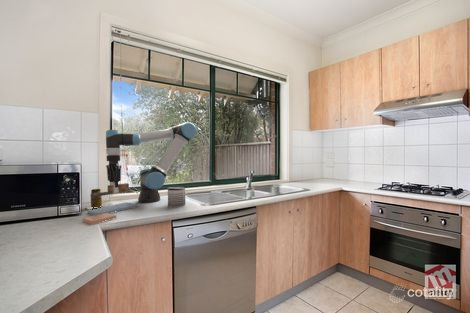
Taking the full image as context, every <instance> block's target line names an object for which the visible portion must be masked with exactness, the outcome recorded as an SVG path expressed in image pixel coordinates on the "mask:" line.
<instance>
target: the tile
mask: <svg viewBox="0 0 470 313" xmlns="http://www.w3.org/2000/svg"><path fill="white" fill-rule="evenodd" d="M112 218H116V219H117V214H113V213H110V214H109V213H104V214H99V215H91V216H86V217H83V218H82V222H83V223H86V224H89V225H93V226H94V225H98V224H100V223H99V222H101V223H103V222H102V221H105V220H109V219H112ZM109 221H110V220H109ZM105 222H106V221H105Z"/></svg>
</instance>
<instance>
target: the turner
mask: <svg viewBox="0 0 470 313" xmlns="http://www.w3.org/2000/svg"><path fill="white" fill-rule="evenodd" d="M129 186H130V184H129V182H128V183H127V182H125V183H118V192H117V193H116V194H119V193H126V192H129V191H130V187H129ZM112 194H115V193H114V191H113V185H110V184H108V185H107V191H102V192H101V193H94V194H91V193H90V197H91V196H95V197H96V196H101V197H102V196H103V197H104V196H107V195H112Z"/></svg>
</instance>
